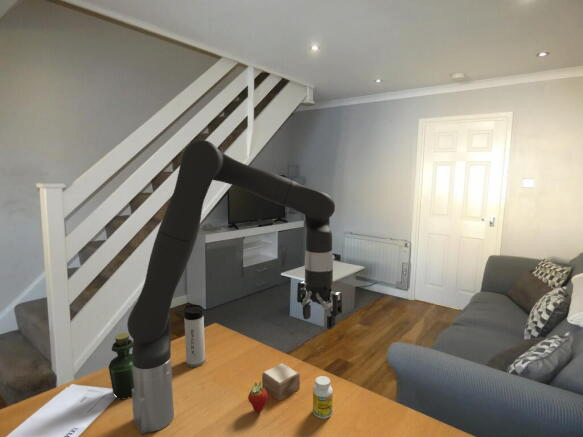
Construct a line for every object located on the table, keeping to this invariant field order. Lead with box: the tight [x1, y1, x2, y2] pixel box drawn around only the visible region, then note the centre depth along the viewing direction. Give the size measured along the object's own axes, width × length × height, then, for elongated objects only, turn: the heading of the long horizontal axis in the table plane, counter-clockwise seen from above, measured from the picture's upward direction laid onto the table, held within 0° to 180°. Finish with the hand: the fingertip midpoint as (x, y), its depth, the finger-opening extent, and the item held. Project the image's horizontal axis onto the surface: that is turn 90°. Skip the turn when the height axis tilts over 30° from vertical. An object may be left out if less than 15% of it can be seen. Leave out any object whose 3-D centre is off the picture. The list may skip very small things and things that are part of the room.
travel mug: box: [183, 303, 206, 368], centre depth 117 cm, size 6×7×20 cm
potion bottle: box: [108, 332, 134, 400], centre depth 101 cm, size 8×8×18 cm
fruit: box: [247, 381, 269, 413], centre depth 94 cm, size 5×5×8 cm
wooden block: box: [261, 362, 301, 402], centre depth 104 cm, size 8×8×5 cm
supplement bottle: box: [312, 375, 334, 419], centre depth 93 cm, size 5×5×10 cm
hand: (318, 323), depth 95 cm, fingers open, 8 cm apart
